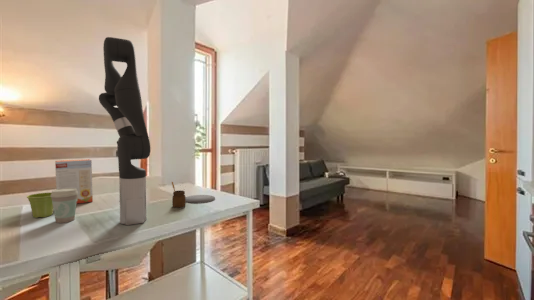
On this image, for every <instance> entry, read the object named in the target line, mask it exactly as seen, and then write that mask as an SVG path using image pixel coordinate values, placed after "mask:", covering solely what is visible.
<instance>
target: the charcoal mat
mask: <svg viewBox="0 0 534 300" xmlns="http://www.w3.org/2000/svg"><path fill="white" fill-rule="evenodd" d="M185 197H186V203H189V204H204V203H211V202H213V201H215V200H216V197H215V196H214V195H209V194H193V195H189V196H188V195H187V196H185Z"/></svg>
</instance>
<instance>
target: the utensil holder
mask: <svg viewBox="0 0 534 300" xmlns="http://www.w3.org/2000/svg"><path fill="white" fill-rule="evenodd" d="M171 185H172V188H173V193H172V207H173V208H183V207H185V206H186V203H187V202H186V197H187V196H186V193H185V192H186V191H184V190H183V189H184V188H185V186H182V187H183V189H182V187H180V189H179V190H175V189H176V188H175V184H174V182H173V181H171ZM180 185H183V182H182V183H180Z"/></svg>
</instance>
